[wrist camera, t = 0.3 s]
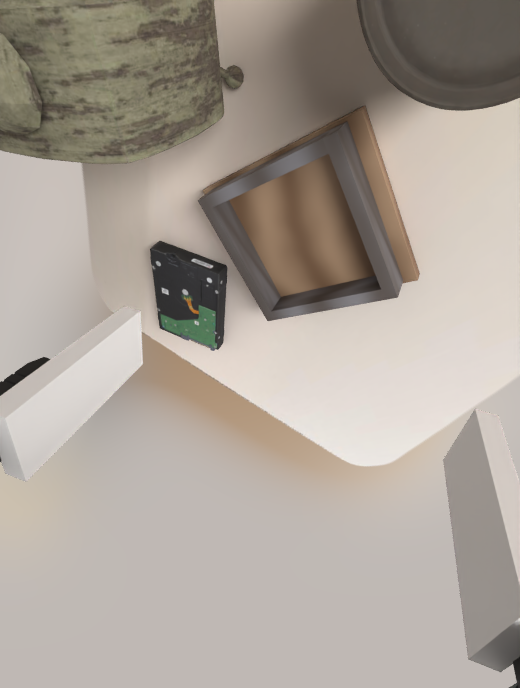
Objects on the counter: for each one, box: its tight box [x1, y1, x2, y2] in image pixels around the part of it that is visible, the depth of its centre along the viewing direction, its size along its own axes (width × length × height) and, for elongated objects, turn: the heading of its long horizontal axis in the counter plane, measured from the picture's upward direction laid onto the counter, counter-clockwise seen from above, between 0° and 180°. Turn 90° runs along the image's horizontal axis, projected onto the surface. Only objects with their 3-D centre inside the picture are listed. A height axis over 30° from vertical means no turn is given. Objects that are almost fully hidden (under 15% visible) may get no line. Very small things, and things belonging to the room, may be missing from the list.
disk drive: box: [150, 241, 227, 351], centre depth 54 cm, size 10×3×15 cm
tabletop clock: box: [0, 0, 243, 164], centre depth 25 cm, size 14×9×25 cm, turn 93°
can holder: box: [198, 106, 420, 321], centre depth 39 cm, size 18×16×4 cm
